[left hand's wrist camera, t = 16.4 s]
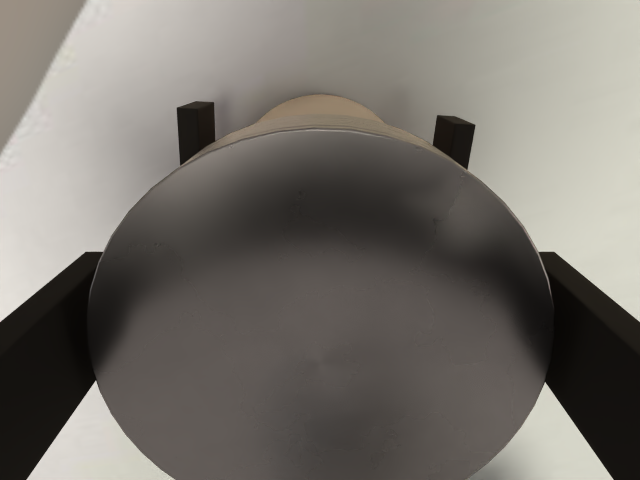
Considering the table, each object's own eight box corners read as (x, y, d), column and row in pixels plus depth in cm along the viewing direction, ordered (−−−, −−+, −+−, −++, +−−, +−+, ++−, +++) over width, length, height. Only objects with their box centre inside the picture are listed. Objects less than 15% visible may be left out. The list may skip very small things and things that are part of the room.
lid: (186, 468, 15) (162, 541, 12) (70, 150, 11) (6, 174, 8) (511, 430, 14) (547, 499, 12) (513, 79, 10) (567, 84, 8)
